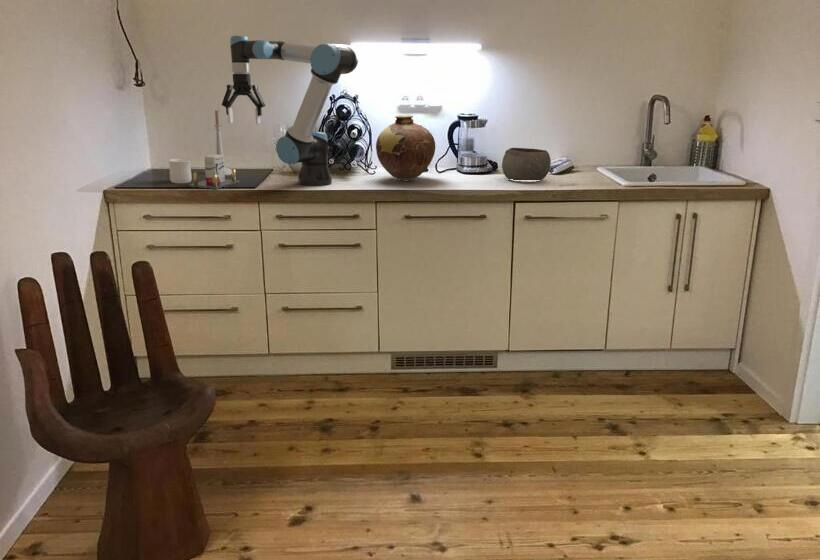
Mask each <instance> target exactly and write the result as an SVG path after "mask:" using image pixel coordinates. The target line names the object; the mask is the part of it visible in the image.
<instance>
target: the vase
mask: <svg viewBox="0 0 820 560" xmlns="http://www.w3.org/2000/svg"><path fill="white" fill-rule="evenodd" d="M413 117H414V115H411V114H398V115H397V114H396V115H394V118H395V121H394V123H392V124H389V125H388V126H386V127H385V128H384V129H383V130H382V131H380V133H379V135H378V136H377V139H376V142H375V143H376V144H375V151H376V157H377V159H378V162H379V163H380V164H381V166H382V167H383V169H384V170H385V171H386V172H387V173H388V174H389V175H390V176H391V177H394V178H395V179H397V180H399V179H400V180H399V181H402V180H410V181H412V179H413V180H416V179H417V178H418V177H420V176H421V175H422V174H423V173H424V172H425V171H426V169H427V168H428V167H429V166H430V164H431V162H432V161H433V158H434V156H435V153H436V140H435V138H434V136H433V134H432V132H430V130H429V129H427V128H425V127H424V126H422V125H421V124H418V123H415V122H414V119H413Z"/></svg>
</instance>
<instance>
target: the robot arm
mask: <svg viewBox="0 0 820 560" xmlns="http://www.w3.org/2000/svg"><path fill="white" fill-rule="evenodd" d="M229 44H230V46H229V47H230V57H231V72H232V82H233V84H227V85H226V91H225V94H224V96H223V99H222V103H221V106H222V107H224V108H225V110H226V112H225V113H226V115H227V120H228V123H229V124H232V123H234V115H233V114H234V112H233V107H232V105H233V104H234V103H235V100H236V99H237V98H238V96H246V97H248V98H249V100H250V101H251V102H252V103H253V105H254V106H255V109H254V112H255V125H257V124H261V116H262V115H263V113H262V108H263V107H266V103H265V101H264V99H263V97H262V95H261V93H260V91H259V88H258V85H257V84H252V85H251V81H252V80H251V74H250V73H251V69H250V67H251V66H250V60H280V61H289V62H296V63H303V64H310V67H311V69H310V73H311V75H312V76H311V79H310V82H309V84H308V87H307V89H306V92H305V94H304V97H303V99H302V102H301V105H300V107H299V109H298V112H297V115H296V117H295V120H294V121H293V122H294V123H293V125H292V126H289V127H288V128H287V130H286V133H285V135H284V136H281V137H280V138H278V139H277V140H276V143H275V152H276V154H277V157H278V158H279V160H280V161H281V162H282V163H284V164H287V165H296V164H299V163H301V167H300V171H299V174H298V177H297V183H298V184H299V185H303V186H313V187H314V185H319V186H326V184H328V185H331V184H332V183H333V180H332V179H333V178H332V175H331V173H330V169H329V166H328V159H329V158H328V143H329V141H328V135H327V133H325V132H323V131H322V132H321V131H314V129H315V128H316V125H317V123H318V121H319V118H320V116H321V114H322V112H323V111H322V110H323V108H324V106H325V104H326V100H327V99H328V97H329V95H330V94H329V93H330V91H331V90H332V89H331V88H332V87H333V85H336V84H338V82H339V80H340V78H341V75H346V74H350V73H352V72H353V71H354V70H355V69H357V66H358V63H359V55H358V53H357V51H356V49H354V47H353V46H351V45H348V44H346V43H345V44H344V43H343V44H340V43H339V44H338V43H332V42H326V43H322V44H321V43H320V44H319V45H318V44H317V45H312V44H303V43H297V42H296V43H294V42H286V41H282V40H281V41H280V40H278V41H275V40H264V39H257V40H249V37H248V36H247V35H232V36H231V37H230V43H229ZM233 90H234V91H233ZM253 93H254V94H253ZM330 183H331V184H330Z"/></svg>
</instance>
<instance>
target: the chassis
mask: <svg viewBox="0 0 820 560" xmlns="http://www.w3.org/2000/svg"><path fill="white" fill-rule="evenodd" d="M231 170H232V175H231V179H227V178H225V181H224V182H221V183H218V184H217V177H216V174H212V175H213V184H206V179H205V180H201V181H198V172H193V174H192V176H193V177H192V178H193V183H189V186H188V187H189V188H196V187H198V189H199V188H200V189H207V188H209V189H211V190H220V189H219V188H221V189H223V188H222V187H224V188H226V187H225V186H228V187H230V186H229V185H231V186H234V185H233V184H235V185H237V184H236V183H238V184H241V180H238V179H236V178H237V177H236V174H237V173H236V169H234V168H233V169H231Z"/></svg>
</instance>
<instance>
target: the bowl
mask: <svg viewBox="0 0 820 560" xmlns="http://www.w3.org/2000/svg"><path fill="white" fill-rule="evenodd" d="M551 162H552V160H551V155H550V153H549V152H548V151H547V150H545V149H544V150H543V149H539V148H525V147H510V148H508V149H507V150H505V152H504V155H503V157H502V162H501V168H502V172H503V174H504V177H505V178H506V179H507V178H508V179H513V180H541V179H543V180H544V179H545V178H546V177H547V176H548V174H549V172H550V170H551V166H552V165H551V164H552V163H551ZM508 179H507V180H508ZM541 181H542V180H541Z"/></svg>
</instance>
